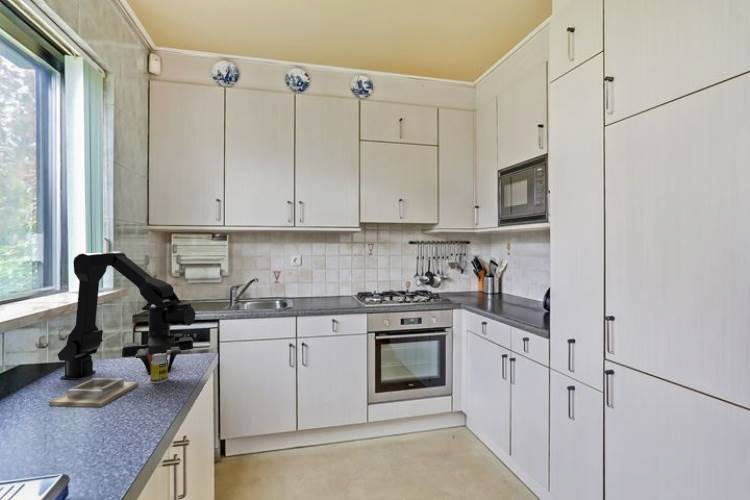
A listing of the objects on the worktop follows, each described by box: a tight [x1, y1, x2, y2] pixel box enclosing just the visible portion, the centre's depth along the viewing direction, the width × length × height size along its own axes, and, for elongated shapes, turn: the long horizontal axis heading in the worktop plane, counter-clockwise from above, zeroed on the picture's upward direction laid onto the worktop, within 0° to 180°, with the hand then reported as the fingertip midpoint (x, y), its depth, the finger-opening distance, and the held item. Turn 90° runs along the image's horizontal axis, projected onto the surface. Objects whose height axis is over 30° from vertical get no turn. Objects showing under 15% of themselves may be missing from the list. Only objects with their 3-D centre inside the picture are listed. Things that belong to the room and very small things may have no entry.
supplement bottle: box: [149, 352, 169, 384], centre depth 111 cm, size 5×5×8 cm
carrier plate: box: [48, 377, 139, 408], centre depth 101 cm, size 14×14×3 cm
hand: (159, 373), depth 111 cm, fingers closed on supplement bottle, 5 cm apart
